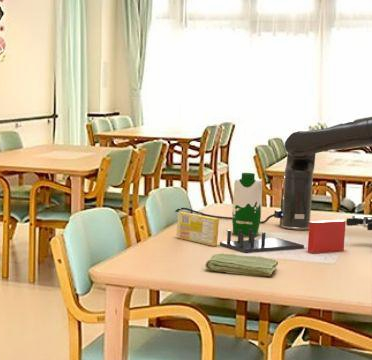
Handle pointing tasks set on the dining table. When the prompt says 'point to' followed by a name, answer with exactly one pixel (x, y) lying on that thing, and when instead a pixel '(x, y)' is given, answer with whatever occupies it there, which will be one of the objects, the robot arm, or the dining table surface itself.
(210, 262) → the washcloth
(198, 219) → the candy box
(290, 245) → the dish rack
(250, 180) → the milk carton
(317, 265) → the dining table surface
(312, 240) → the red rectangular block
